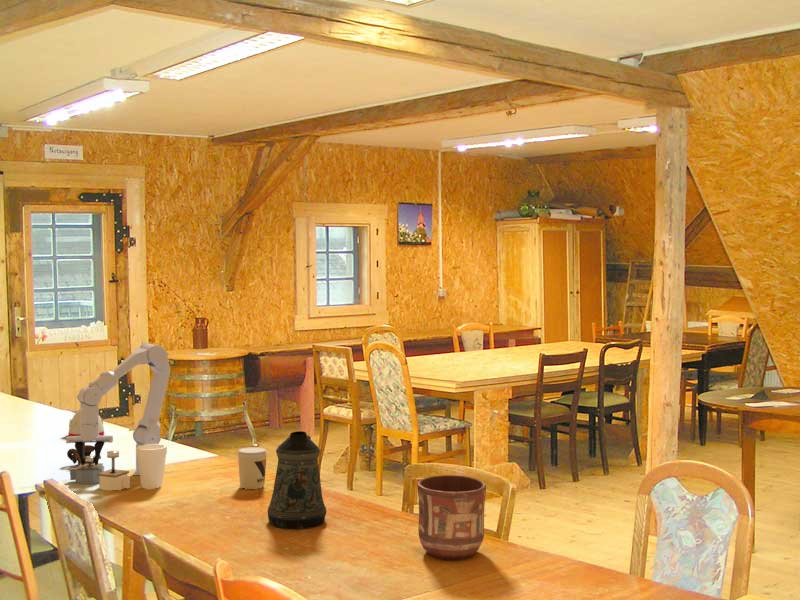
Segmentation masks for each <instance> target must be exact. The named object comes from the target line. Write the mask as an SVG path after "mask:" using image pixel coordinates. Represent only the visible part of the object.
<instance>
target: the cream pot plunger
mask: <svg viewBox="0 0 800 600" xmlns="http://www.w3.org/2000/svg"><path fill="white" fill-rule="evenodd" d="M106 456H107V457H106V458H108V459H111V469H112V473H115V469H116V467H115V466H116V465H115V464H116V463H115V459H116V458H119V457H120V451H119V450H109V451H107V452H106Z"/></svg>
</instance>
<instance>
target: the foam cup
mask: <svg viewBox="0 0 800 600" xmlns="http://www.w3.org/2000/svg"><path fill="white" fill-rule="evenodd" d="M167 447H168V446H167V445H166V444H163V443H159V444H146V445H140V446H138V447H136V446H135V456H136V455H137V458H138V466H139V473H140V475H139V479H140V486H141V488H142V489H143V488H146V489H145V490H156V489H155V488H158V489H160V488H159V487H161V486H162V487H163V481H164V473H165V470H164V467H166V457H167V455H168V454H167V453H168V448H167ZM162 487H161V488H162ZM153 488H154V489H153Z"/></svg>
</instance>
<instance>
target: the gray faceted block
mask: <svg viewBox="0 0 800 600" xmlns="http://www.w3.org/2000/svg"><path fill="white" fill-rule="evenodd" d="M103 464H104V463H102V462H101V463H99V462H98V464H97V465H95V463H94V464H91V467H88V464H84V465H81V464H78V466H77V467H75V468H74V467H72V468H71V467H70V470H69V471H70V473H69V474H70V479H69V480H70V481H75V484H79V483H80V485H92V484H91V483H95V484H98V483H97V482H99V476H98V475H97V473H100V472H104V471H105V466H104V465H103Z"/></svg>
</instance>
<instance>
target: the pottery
mask: <svg viewBox="0 0 800 600" xmlns="http://www.w3.org/2000/svg"><path fill="white" fill-rule="evenodd" d="M416 486H417V488H416V489H417V495H418V496H417V497H418V526H417V527H418V529H417V530H418V538H419V541H420V544H421V545H422V548H423V550H424V551H426V552H427V553H428V555H430V556H431V557H433V558H436V559H440V560H447V561H458V560H459V559H461V560H464V559H469V558H471V557H473V555H474V554H476V553H477V551H479V549H480V547H481V546H482V543H483V541H484V538H485V502H486V501H485V500H486V493H487V485H486V483H485V482H484V481H482V480H480V479H478V478H475V477H471V476H465V475H457V474H456V475H453V474H450V475H449V474H443V475H432V476H426V477H424V478H422V479H419V480H418V481H417V485H416Z"/></svg>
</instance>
